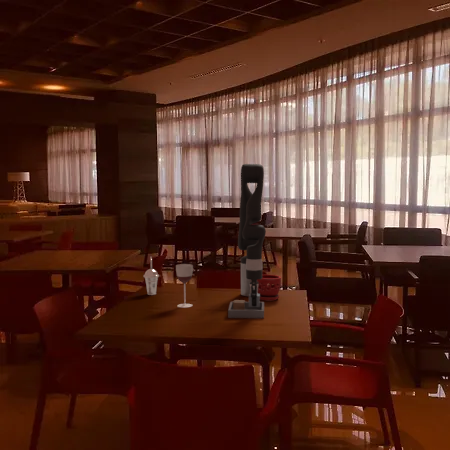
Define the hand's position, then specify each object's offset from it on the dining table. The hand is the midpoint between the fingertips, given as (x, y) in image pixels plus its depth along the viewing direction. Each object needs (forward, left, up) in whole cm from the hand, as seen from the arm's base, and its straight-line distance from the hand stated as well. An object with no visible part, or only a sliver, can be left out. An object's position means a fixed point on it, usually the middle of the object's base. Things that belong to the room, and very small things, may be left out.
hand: (254, 304), depth 237 cm
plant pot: (-29, +6, -5) cm, 30 cm away
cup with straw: (-37, -57, -4) cm, 68 cm away
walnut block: (0, -7, -4) cm, 8 cm away
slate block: (0, 0, 0) cm, 0 cm away
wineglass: (-13, -35, -4) cm, 37 cm away
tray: (0, -4, -4) cm, 6 cm away
